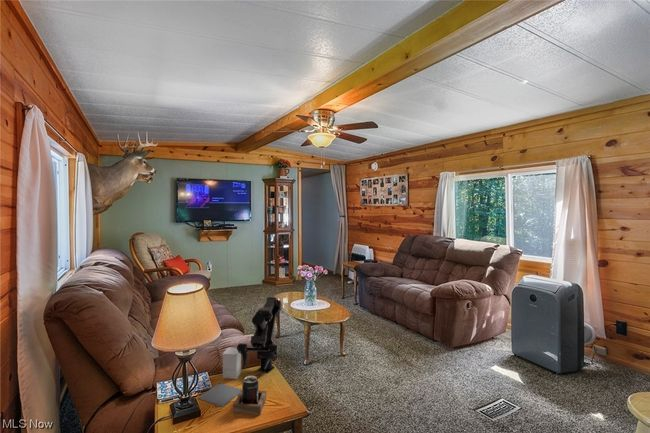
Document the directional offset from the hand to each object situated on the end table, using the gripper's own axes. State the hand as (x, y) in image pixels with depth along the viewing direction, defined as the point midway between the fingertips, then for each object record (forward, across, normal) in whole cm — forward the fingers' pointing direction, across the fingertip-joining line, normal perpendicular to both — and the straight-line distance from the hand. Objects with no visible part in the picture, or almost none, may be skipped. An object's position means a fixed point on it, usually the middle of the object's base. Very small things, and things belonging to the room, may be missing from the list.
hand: (254, 367), depth 155 cm
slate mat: (+9, -15, +9) cm, 20 cm away
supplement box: (-3, -16, +22) cm, 27 cm away
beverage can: (+15, 0, +4) cm, 15 cm away
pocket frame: (+14, 0, +4) cm, 15 cm away
